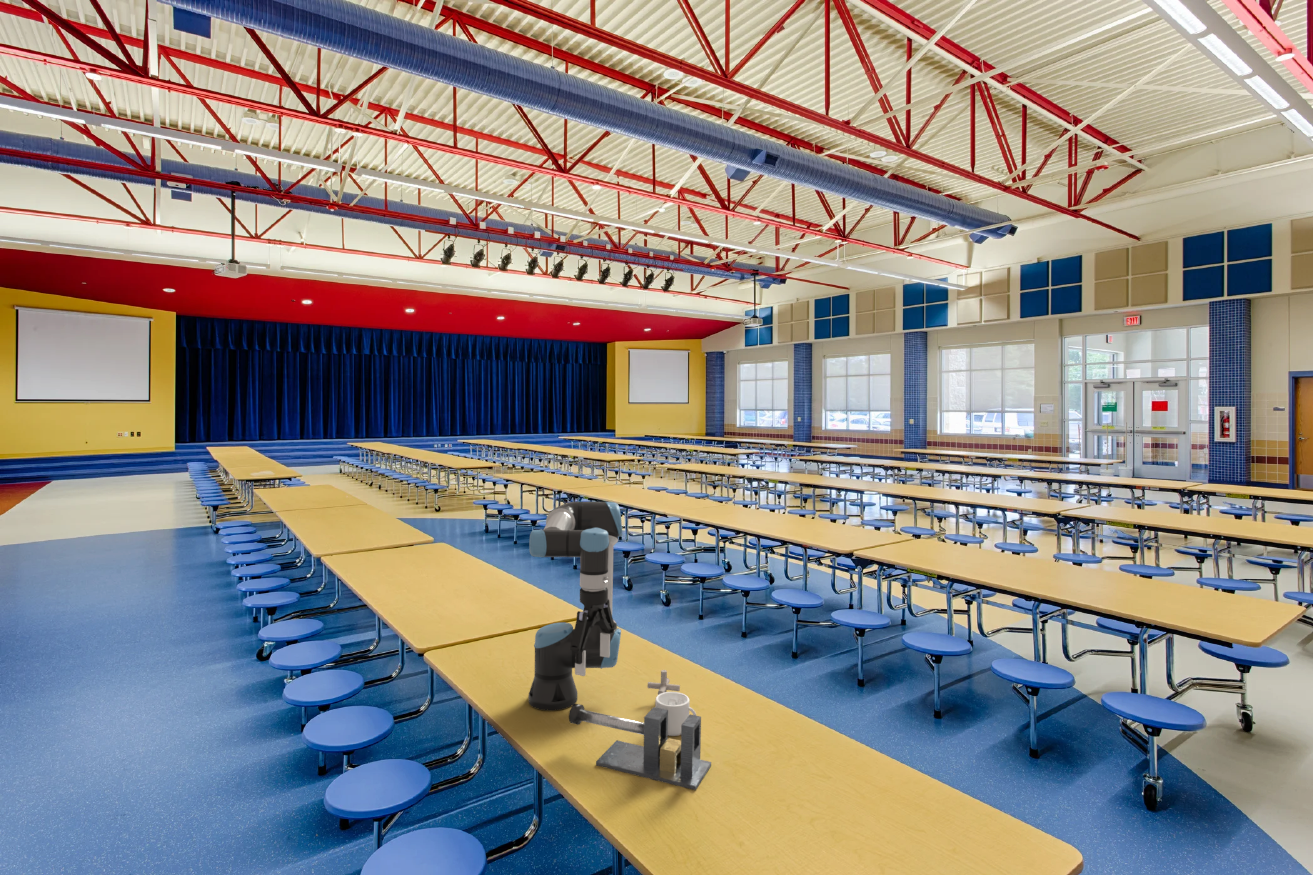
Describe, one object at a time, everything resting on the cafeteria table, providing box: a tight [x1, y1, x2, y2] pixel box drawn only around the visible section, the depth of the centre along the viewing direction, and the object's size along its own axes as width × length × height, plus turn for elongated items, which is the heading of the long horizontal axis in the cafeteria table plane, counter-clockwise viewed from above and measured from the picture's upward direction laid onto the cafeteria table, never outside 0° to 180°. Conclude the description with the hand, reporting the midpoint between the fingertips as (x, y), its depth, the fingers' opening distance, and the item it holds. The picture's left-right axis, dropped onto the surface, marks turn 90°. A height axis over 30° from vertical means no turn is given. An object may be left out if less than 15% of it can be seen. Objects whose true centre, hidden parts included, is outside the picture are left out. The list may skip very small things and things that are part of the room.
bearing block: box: [595, 707, 712, 791], centre depth 168 cm, size 27×12×14 cm, turn 67°
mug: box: [655, 691, 697, 737], centre depth 187 cm, size 12×10×9 cm
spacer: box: [660, 737, 681, 774], centre depth 166 cm, size 4×6×6 cm
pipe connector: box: [646, 669, 681, 696], centre depth 205 cm, size 10×10×10 cm
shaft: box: [568, 703, 644, 736], centre depth 172 cm, size 23×5×5 cm, turn 67°
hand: (592, 665), depth 177 cm, fingers open, 13 cm apart
